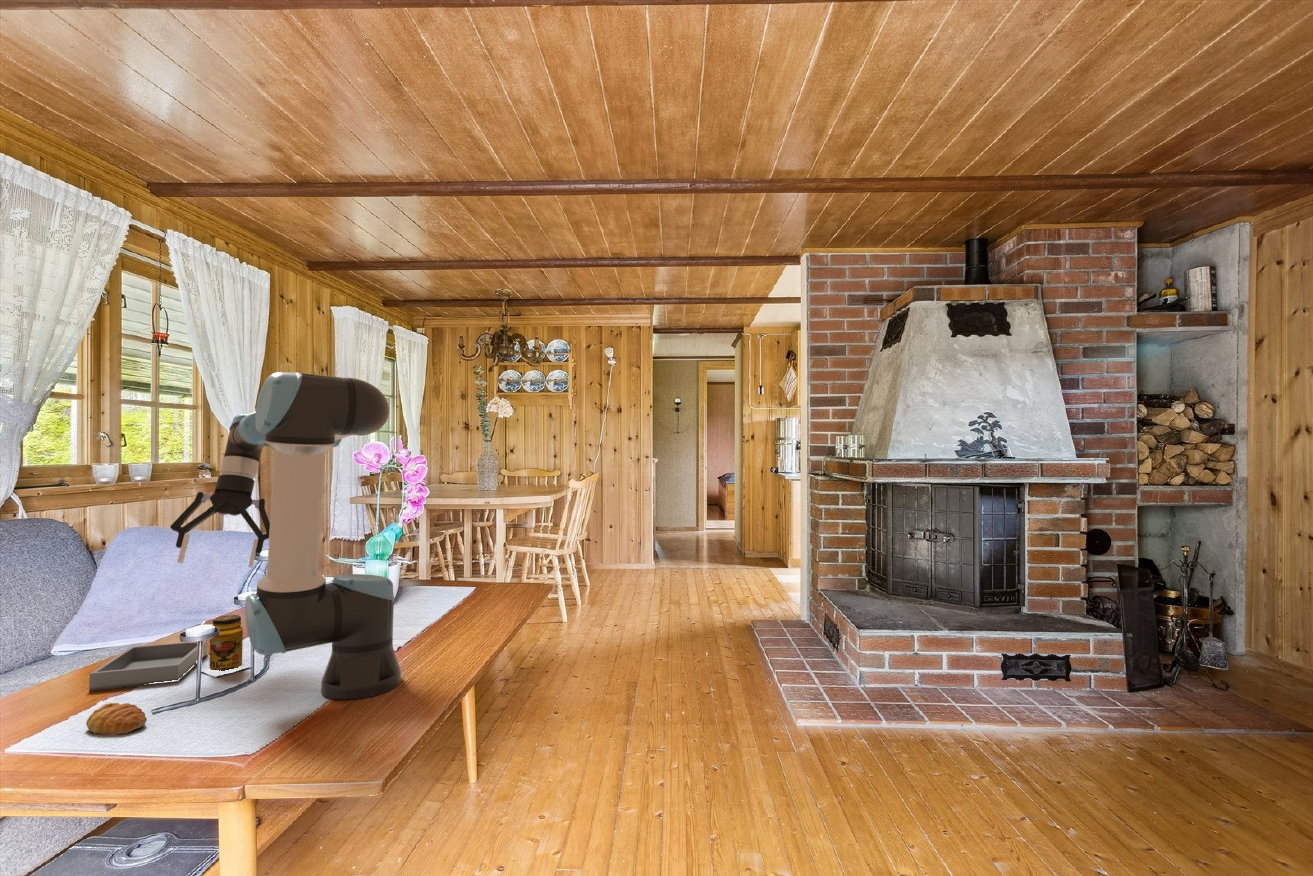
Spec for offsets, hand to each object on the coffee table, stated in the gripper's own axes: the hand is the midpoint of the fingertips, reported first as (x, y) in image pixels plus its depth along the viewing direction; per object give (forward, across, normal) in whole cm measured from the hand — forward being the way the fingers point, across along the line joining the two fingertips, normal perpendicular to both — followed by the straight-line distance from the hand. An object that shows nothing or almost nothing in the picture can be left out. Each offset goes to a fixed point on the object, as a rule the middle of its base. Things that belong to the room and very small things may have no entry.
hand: (215, 565), depth 142 cm
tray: (+24, +7, -7) cm, 26 cm away
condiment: (+23, -6, 0) cm, 24 cm away
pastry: (+32, +6, +25) cm, 41 cm away
